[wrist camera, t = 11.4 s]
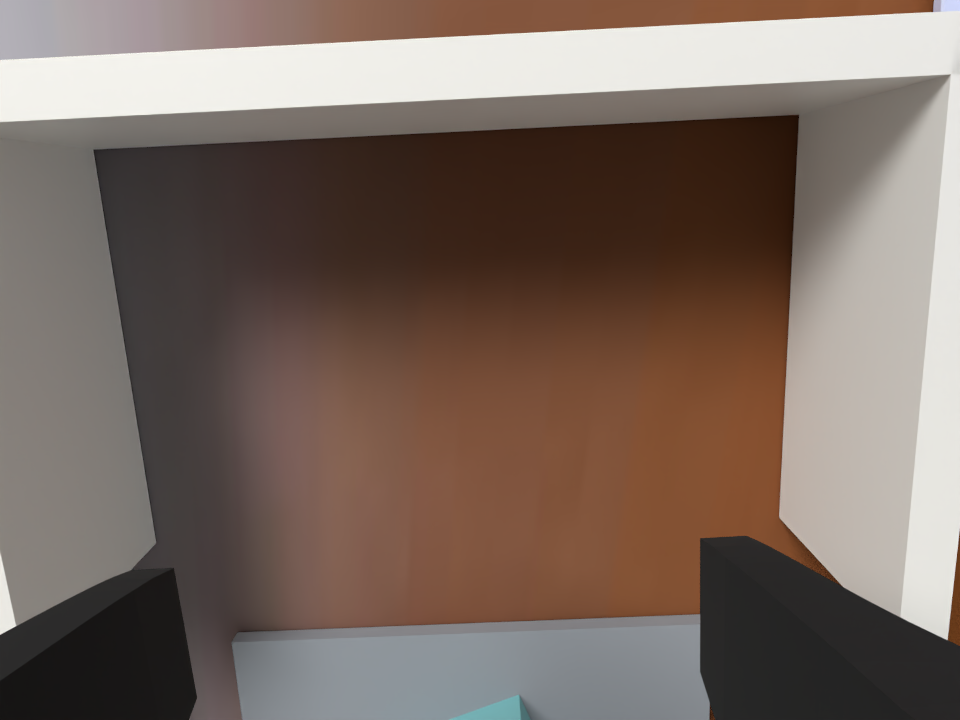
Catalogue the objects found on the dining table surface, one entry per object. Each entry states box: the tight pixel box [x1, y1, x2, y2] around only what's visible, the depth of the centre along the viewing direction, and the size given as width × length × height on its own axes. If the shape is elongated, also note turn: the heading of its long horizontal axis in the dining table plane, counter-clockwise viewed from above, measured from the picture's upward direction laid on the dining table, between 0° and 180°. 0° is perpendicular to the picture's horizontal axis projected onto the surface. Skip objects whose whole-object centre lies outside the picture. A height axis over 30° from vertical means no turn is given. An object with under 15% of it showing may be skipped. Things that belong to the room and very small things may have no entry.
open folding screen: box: [0, 11, 960, 640], centre depth 16 cm, size 20×12×6 cm, turn 93°
